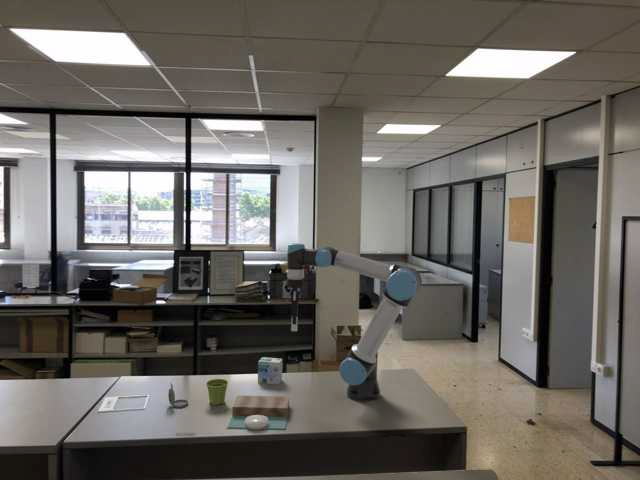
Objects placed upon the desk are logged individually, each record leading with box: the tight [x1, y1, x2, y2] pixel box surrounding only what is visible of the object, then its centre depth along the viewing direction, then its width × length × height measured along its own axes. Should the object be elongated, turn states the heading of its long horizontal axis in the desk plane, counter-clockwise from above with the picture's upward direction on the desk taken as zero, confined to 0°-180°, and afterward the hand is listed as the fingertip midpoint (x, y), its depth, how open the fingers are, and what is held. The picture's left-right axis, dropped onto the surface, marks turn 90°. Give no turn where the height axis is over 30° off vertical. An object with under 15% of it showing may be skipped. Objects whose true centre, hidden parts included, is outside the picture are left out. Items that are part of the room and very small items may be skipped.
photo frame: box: [97, 394, 150, 413], centre depth 204 cm, size 15×1×18 cm
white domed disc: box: [245, 415, 269, 430], centre depth 186 cm, size 9×9×2 cm
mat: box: [226, 415, 288, 431], centre depth 188 cm, size 22×10×1 cm, turn 90°
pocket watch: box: [168, 382, 189, 408], centre depth 203 cm, size 8×8×10 cm
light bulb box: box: [257, 356, 283, 385], centre depth 234 cm, size 11×7×11 cm, turn 81°
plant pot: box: [205, 378, 230, 406], centre depth 207 cm, size 9×9×9 cm
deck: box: [231, 394, 290, 418], centre depth 199 cm, size 22×12×4 cm, turn 90°
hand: (294, 330), depth 216 cm, fingers closed
